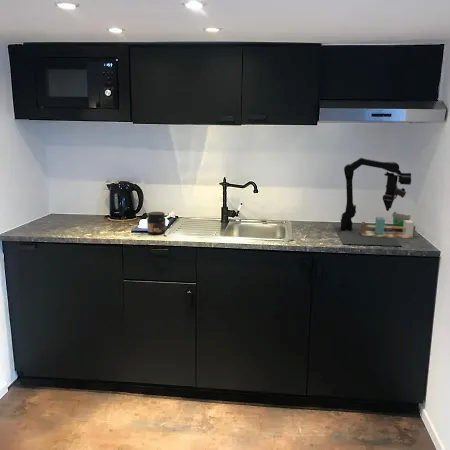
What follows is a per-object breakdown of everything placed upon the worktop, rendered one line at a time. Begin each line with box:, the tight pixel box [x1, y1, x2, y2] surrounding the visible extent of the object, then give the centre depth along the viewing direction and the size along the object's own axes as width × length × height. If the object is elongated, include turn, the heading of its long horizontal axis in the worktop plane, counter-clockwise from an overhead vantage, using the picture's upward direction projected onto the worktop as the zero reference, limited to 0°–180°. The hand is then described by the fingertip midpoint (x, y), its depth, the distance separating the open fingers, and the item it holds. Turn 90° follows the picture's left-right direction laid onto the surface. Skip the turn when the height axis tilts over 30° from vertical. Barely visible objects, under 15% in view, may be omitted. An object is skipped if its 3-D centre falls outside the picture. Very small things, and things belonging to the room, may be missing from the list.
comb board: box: [359, 221, 414, 239], centre depth 277 cm, size 28×10×7 cm, turn 82°
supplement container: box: [146, 211, 166, 236], centre depth 275 cm, size 10×10×12 cm
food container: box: [391, 211, 412, 232], centre depth 290 cm, size 12×6×10 cm, turn 27°
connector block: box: [402, 219, 416, 237], centre depth 274 cm, size 6×7×8 cm
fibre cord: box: [366, 224, 405, 230], centre depth 276 cm, size 23×1×1 cm, turn 82°
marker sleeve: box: [374, 216, 386, 234], centre depth 277 cm, size 4×6×8 cm, turn 172°
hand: (388, 209), depth 282 cm, fingers open, 9 cm apart
